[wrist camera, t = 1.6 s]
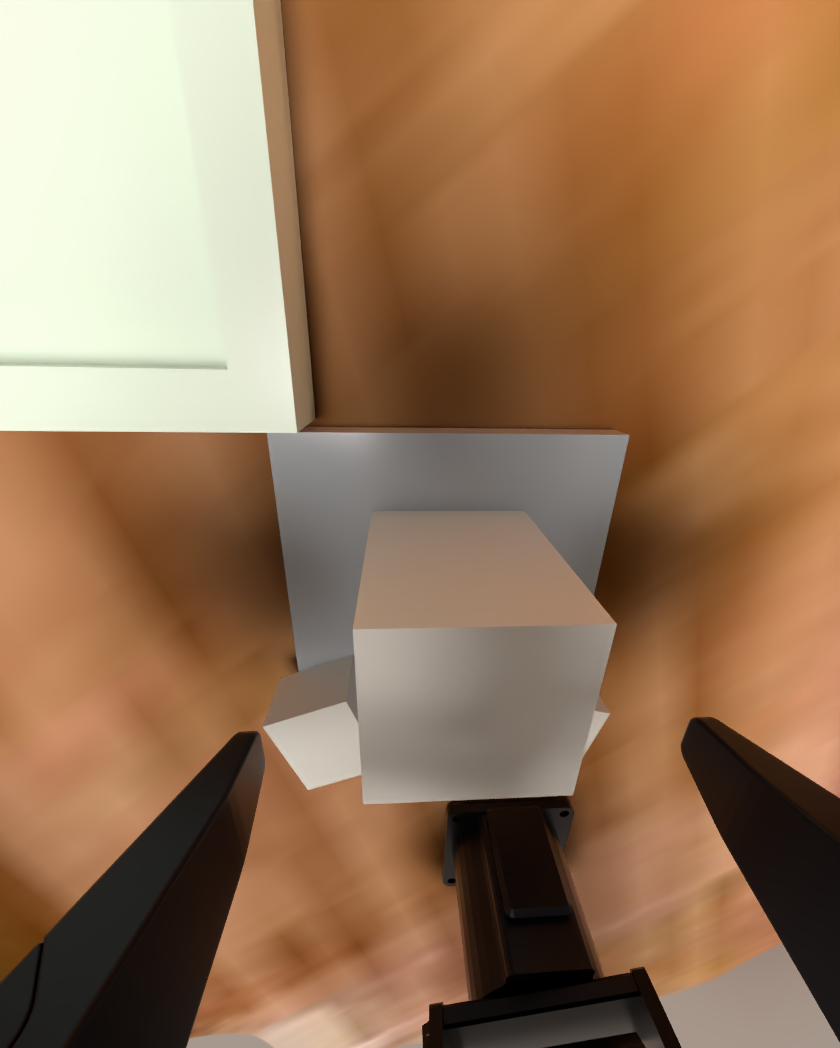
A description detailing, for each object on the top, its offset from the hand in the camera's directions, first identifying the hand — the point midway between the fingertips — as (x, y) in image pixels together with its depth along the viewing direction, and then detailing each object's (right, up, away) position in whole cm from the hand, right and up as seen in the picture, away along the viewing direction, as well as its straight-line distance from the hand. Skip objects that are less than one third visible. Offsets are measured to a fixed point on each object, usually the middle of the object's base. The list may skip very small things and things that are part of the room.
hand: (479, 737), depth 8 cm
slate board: (0, +2, +7) cm, 7 cm away
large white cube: (0, +3, +6) cm, 6 cm away
